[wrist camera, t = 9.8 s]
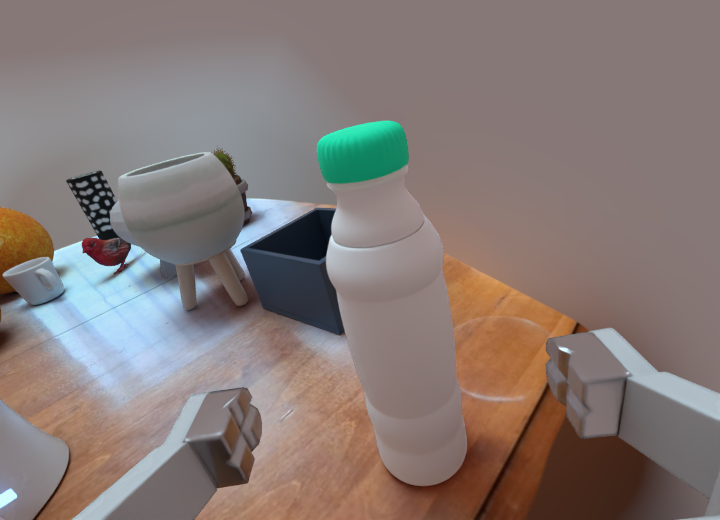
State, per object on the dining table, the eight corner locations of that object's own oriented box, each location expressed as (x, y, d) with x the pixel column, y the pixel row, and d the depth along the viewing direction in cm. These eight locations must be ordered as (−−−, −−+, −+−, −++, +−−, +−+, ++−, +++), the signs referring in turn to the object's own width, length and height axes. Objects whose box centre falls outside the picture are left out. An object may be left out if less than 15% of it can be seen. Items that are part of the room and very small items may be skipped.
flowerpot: (210, 242, 89) (175, 160, 80) (200, 228, 101) (168, 156, 92) (266, 221, 94) (239, 142, 86) (250, 211, 107) (224, 141, 98)
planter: (154, 322, 58) (77, 187, 49) (223, 271, 71) (173, 156, 61) (228, 331, 51) (155, 175, 41) (290, 273, 64) (246, 142, 54)
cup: (85, 289, 78) (64, 256, 75) (46, 311, 72) (21, 276, 68) (57, 287, 83) (36, 256, 79) (18, 308, 77) (-6, 275, 73)
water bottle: (487, 448, 28) (457, 107, 17) (420, 512, 25) (333, 147, 14) (425, 397, 34) (372, 115, 23) (363, 444, 31) (270, 145, 20)
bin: (340, 335, 45) (319, 264, 41) (263, 308, 55) (239, 249, 50) (405, 273, 55) (394, 211, 51) (331, 260, 65) (316, 207, 61)
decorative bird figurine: (96, 286, 78) (70, 244, 74) (143, 250, 94) (124, 214, 90) (108, 284, 78) (83, 242, 74) (153, 249, 94) (135, 212, 89)
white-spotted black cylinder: (99, 249, 104) (59, 181, 96) (126, 236, 111) (91, 172, 102) (115, 250, 100) (75, 179, 92) (142, 236, 107) (107, 169, 98)
